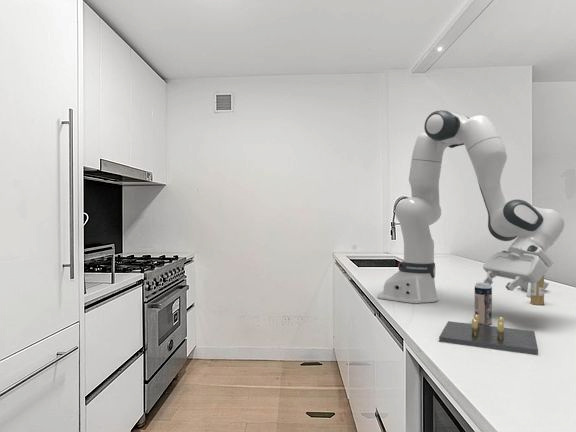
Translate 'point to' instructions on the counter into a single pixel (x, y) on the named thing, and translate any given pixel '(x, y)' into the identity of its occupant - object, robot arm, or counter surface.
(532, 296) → the sprinkles bottle
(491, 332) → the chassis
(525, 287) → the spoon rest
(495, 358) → the counter surface
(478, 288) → the beer can
